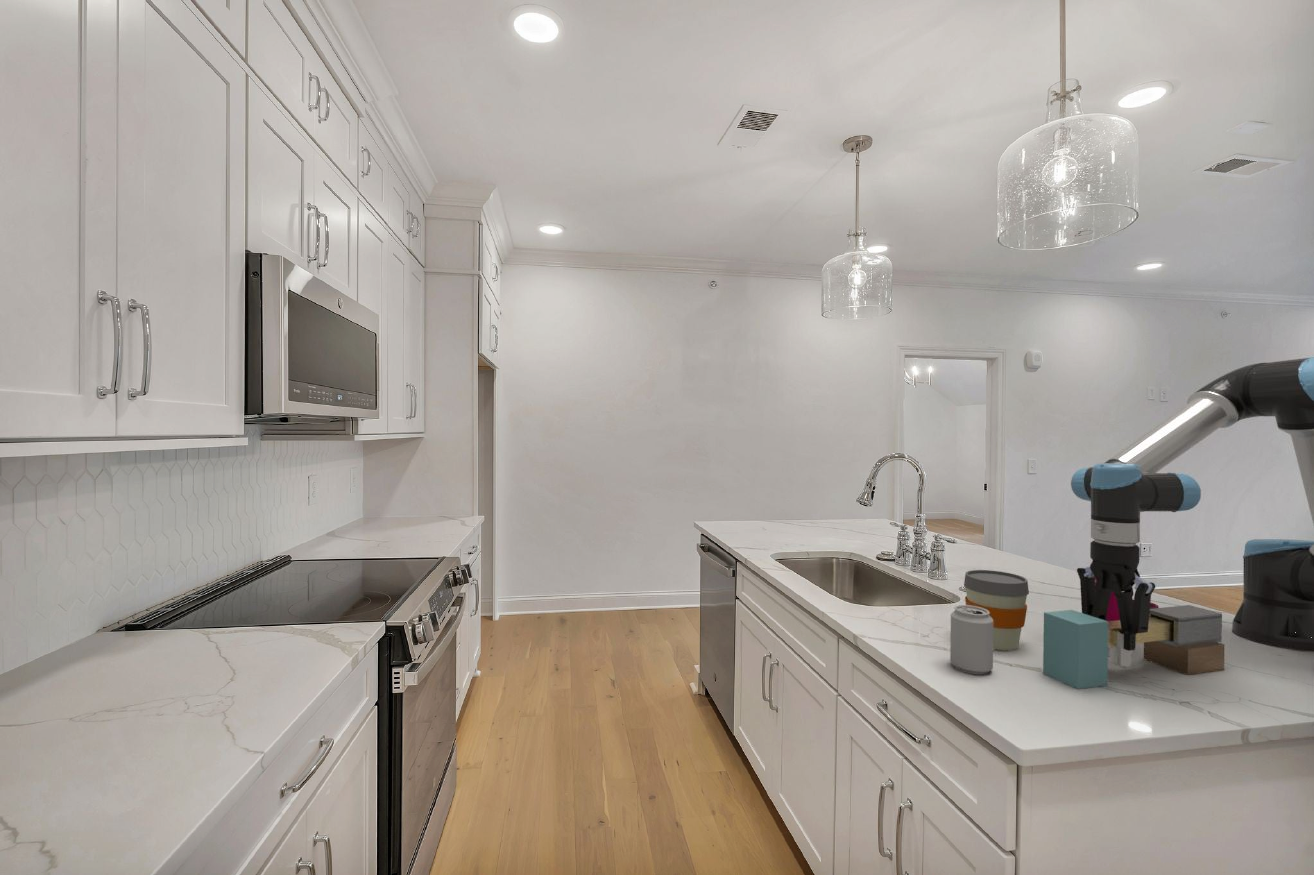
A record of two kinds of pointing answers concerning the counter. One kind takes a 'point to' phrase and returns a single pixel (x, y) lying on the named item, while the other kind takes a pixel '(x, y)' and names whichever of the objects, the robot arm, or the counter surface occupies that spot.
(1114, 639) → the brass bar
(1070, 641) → the socket block
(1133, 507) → the robot arm
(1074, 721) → the counter surface
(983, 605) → the reusable coffee cup
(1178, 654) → the sleeve stand
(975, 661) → the can
